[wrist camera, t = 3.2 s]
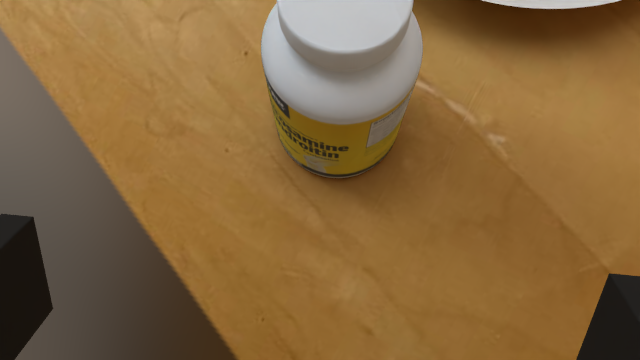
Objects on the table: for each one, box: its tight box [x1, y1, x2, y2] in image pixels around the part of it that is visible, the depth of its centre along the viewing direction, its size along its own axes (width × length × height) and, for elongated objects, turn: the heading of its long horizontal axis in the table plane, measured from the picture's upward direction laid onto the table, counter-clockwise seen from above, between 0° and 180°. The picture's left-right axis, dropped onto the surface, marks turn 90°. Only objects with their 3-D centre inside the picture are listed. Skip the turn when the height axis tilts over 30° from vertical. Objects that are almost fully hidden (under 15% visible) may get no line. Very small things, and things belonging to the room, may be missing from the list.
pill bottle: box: [261, 0, 423, 178], centre depth 24 cm, size 6×6×12 cm
